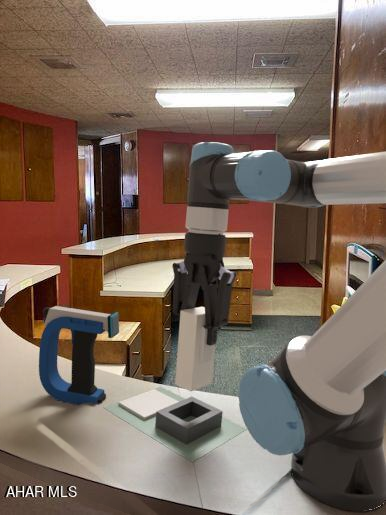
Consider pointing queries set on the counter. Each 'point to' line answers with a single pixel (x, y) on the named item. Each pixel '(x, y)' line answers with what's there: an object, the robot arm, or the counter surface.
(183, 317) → the plug
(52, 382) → the handheld scanner
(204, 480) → the counter surface
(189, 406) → the green socket board
